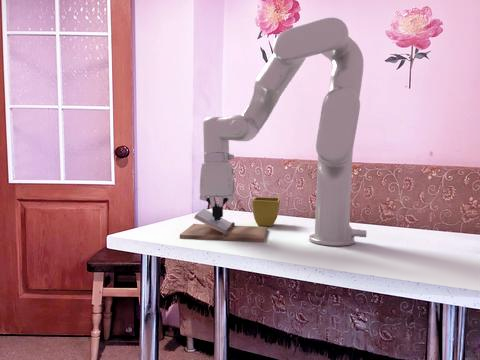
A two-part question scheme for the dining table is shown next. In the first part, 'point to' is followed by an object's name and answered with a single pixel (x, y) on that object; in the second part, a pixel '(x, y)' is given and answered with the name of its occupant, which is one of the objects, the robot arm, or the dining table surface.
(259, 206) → the flower pot
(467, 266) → the dining table surface
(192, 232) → the hinge board
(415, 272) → the dining table surface
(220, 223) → the tile
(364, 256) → the dining table surface
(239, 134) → the robot arm
